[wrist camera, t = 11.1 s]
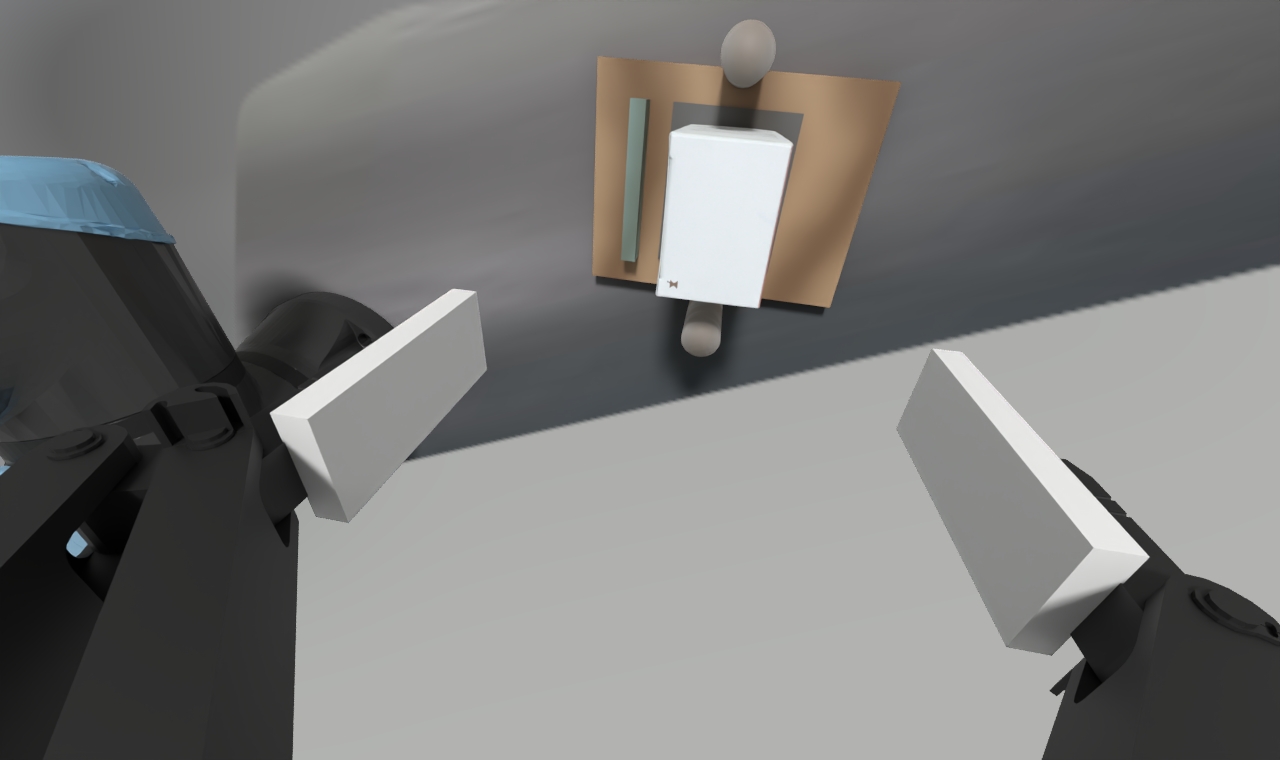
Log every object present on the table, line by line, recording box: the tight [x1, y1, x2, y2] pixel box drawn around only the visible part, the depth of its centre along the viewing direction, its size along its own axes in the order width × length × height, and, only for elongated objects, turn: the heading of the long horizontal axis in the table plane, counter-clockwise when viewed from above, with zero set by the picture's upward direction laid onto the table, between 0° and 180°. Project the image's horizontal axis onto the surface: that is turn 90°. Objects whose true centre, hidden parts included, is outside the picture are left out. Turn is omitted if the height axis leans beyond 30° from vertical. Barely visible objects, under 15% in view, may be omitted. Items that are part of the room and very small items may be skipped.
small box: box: [656, 124, 793, 308], centre depth 27 cm, size 8×6×10 cm
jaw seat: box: [592, 20, 901, 357], centre depth 28 cm, size 18×17×9 cm
